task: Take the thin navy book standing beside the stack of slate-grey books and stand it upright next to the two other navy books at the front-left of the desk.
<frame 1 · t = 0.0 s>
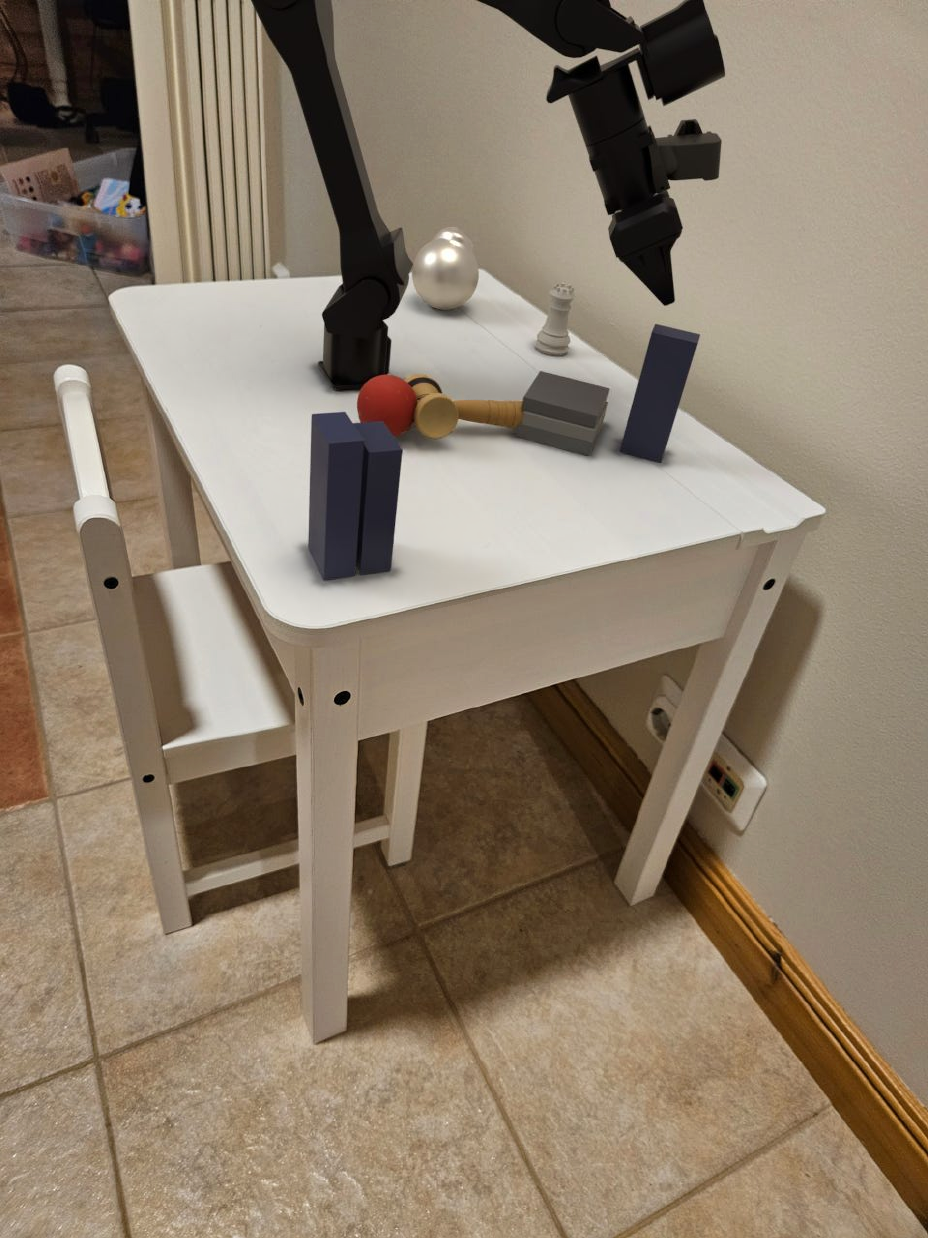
hand: (665, 288, 90), 15 cm above the table, tool tilted 35°, fingers open, 9 cm apart
kendama: (441, 432, 91), on the table, touching grey books
grey books: (560, 430, 95), on the table
navy books: (349, 559, 72), on the table
baroque pearl: (442, 308, 120), on the table
rook chess piece: (551, 350, 113), on the table
navy book: (641, 452, 93), on the table
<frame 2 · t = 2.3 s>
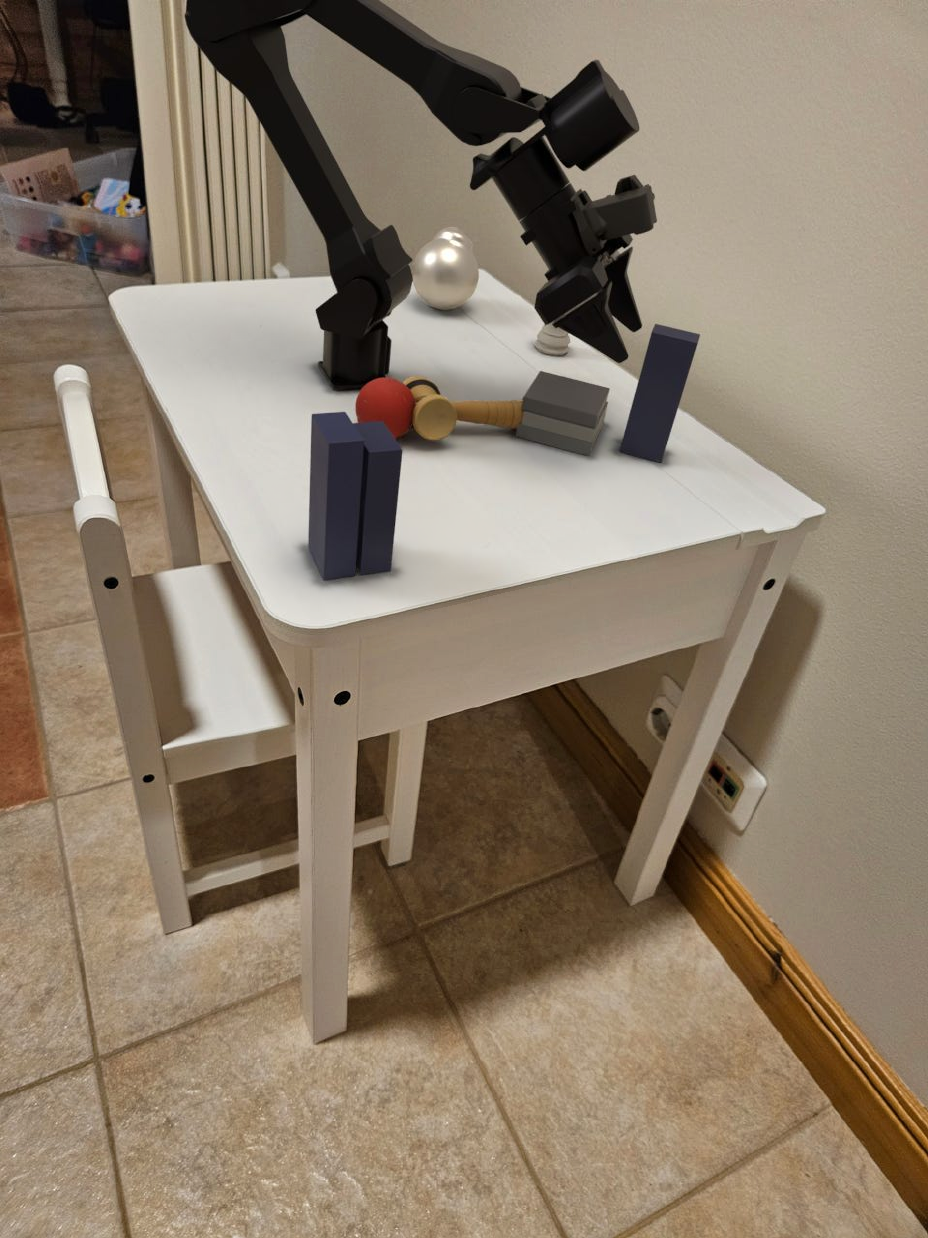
hand: (631, 344, 87), 11 cm above the table, tool tilted 45°, fingers open, 9 cm apart
kendama: (440, 434, 91), on the table, touching grey books
everything else where it was.
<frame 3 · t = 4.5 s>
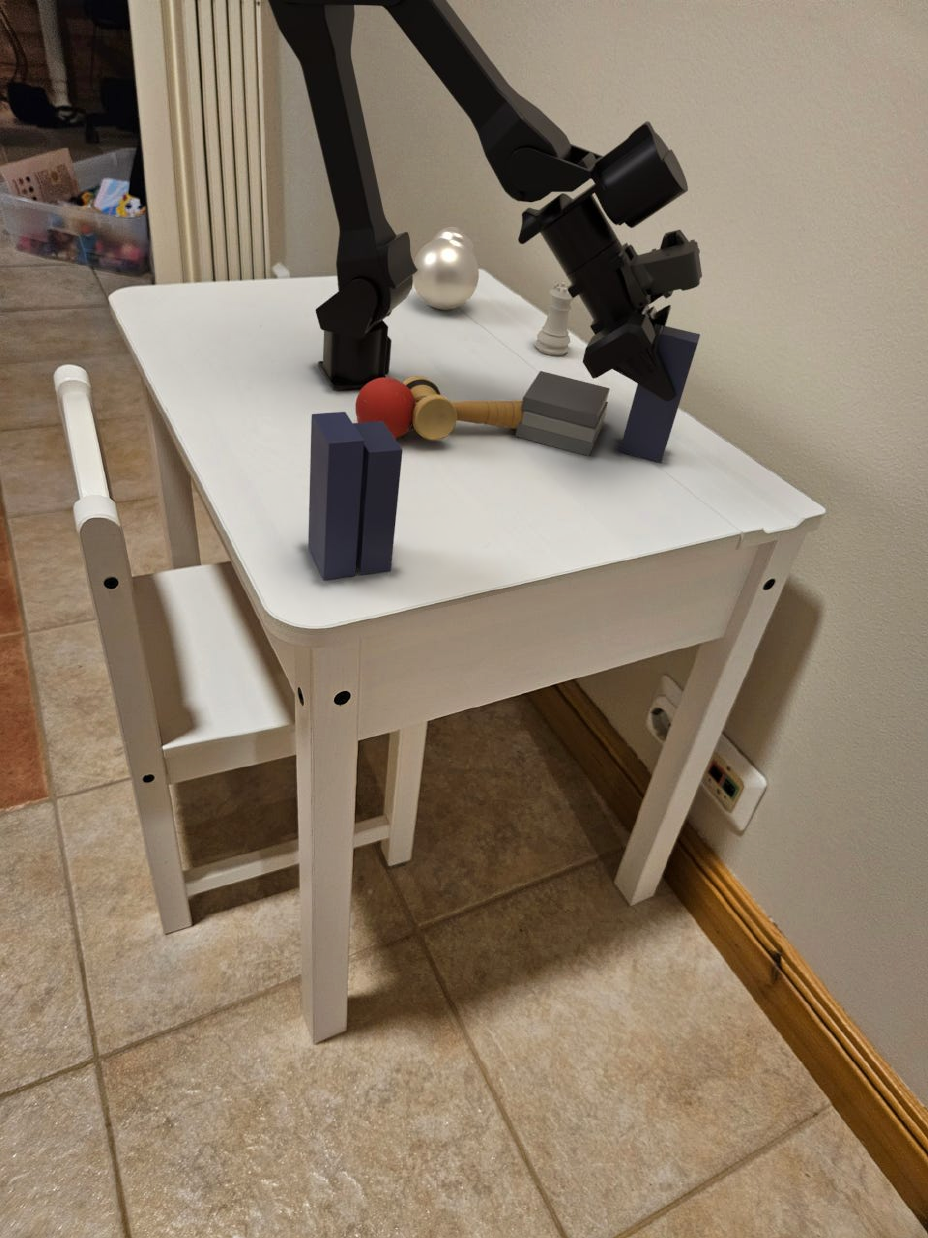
hand: (673, 393, 89), 7 cm above the table, tool tilted 45°, fingers closed on navy book, 3 cm apart
navy book: (641, 452, 93), on the table, touching gripper
everything else where it was.
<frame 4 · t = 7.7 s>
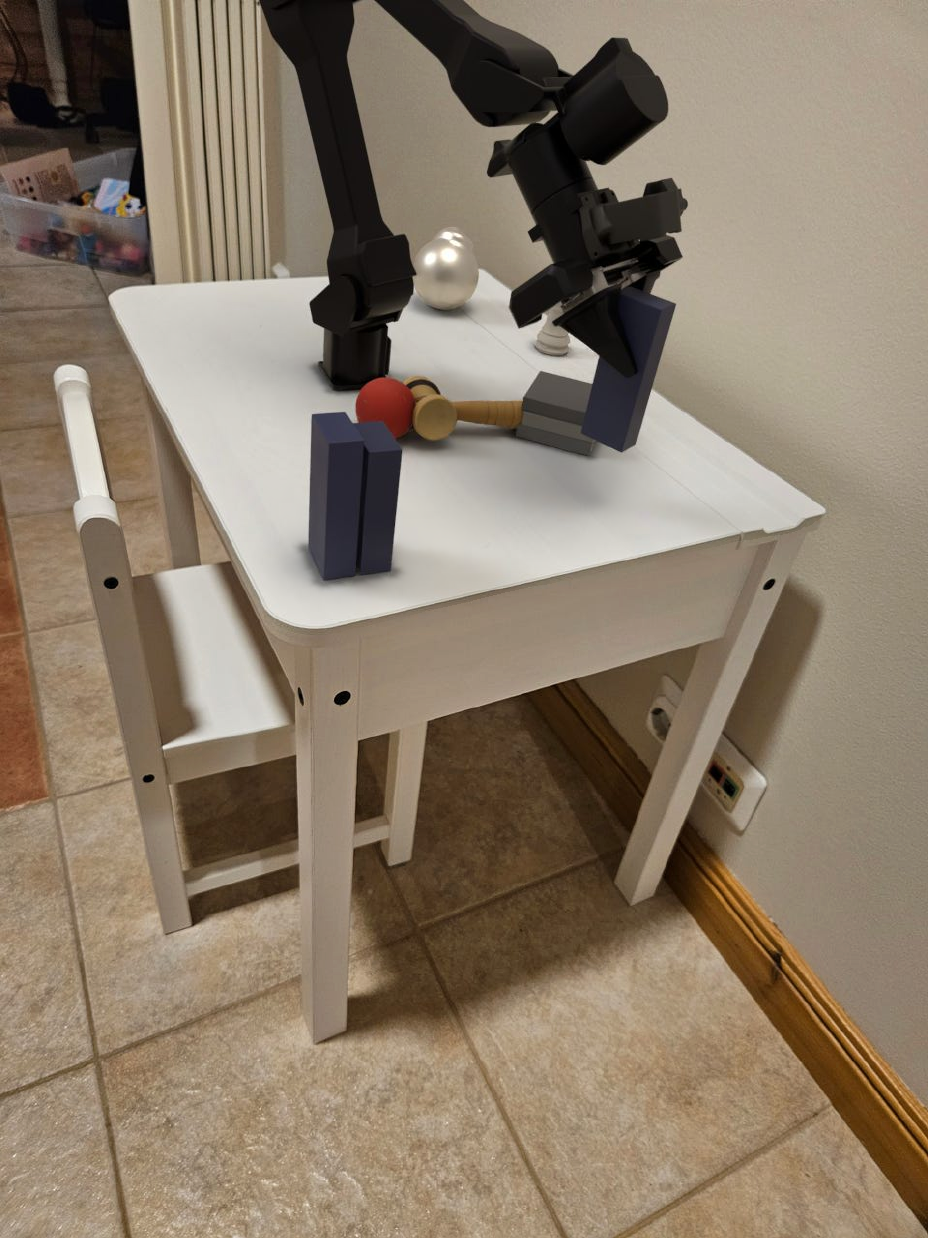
hand: (640, 371, 76), 13 cm above the table, tool tilted 45°, fingers closed on navy book, 3 cm apart
navy book: (607, 439, 81), point 6 cm above the table, touching gripper
everything else where it was.
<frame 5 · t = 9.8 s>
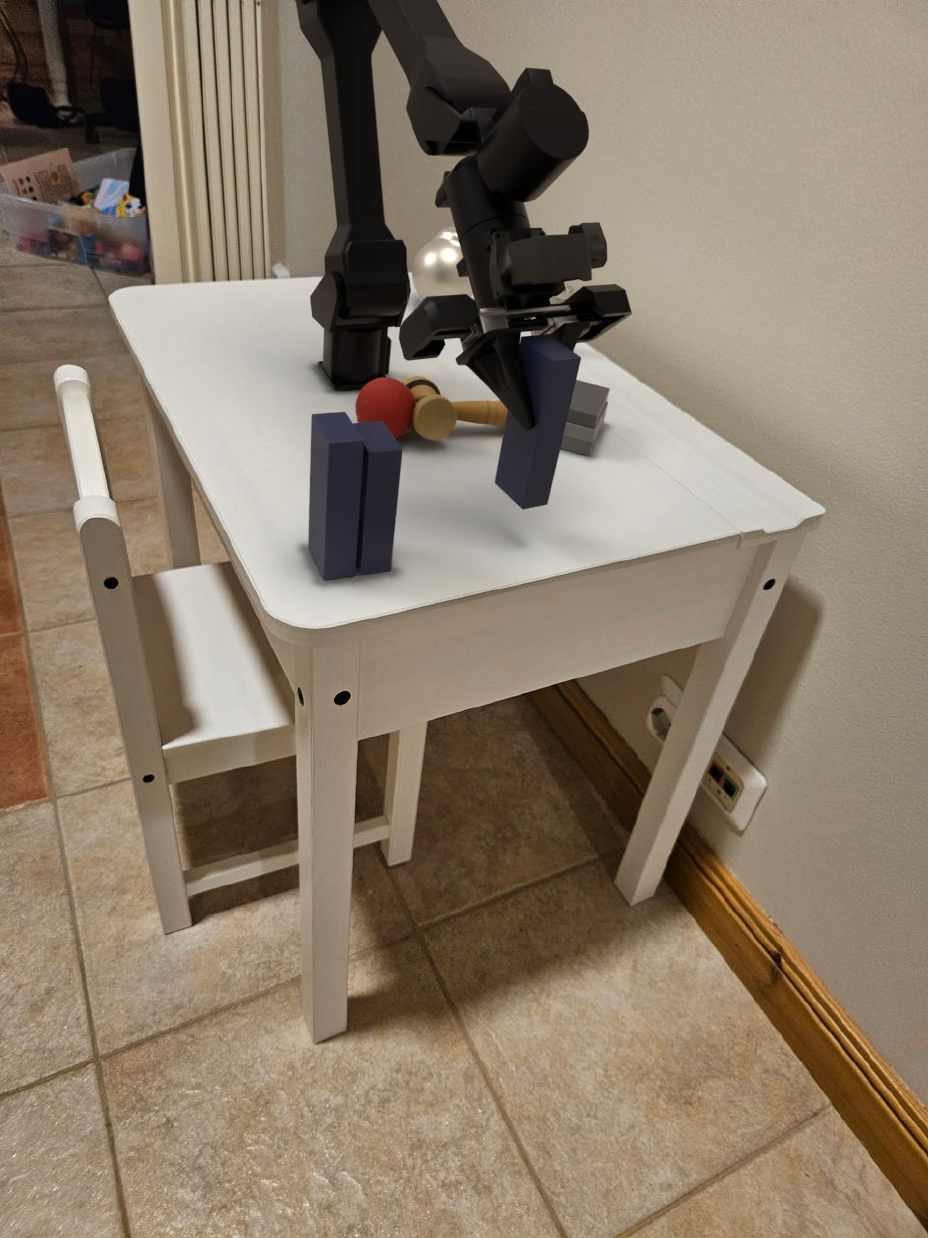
hand: (545, 425, 70), 11 cm above the table, tool tilted 45°, fingers closed on navy book, 3 cm apart
navy book: (520, 493, 75), point 4 cm above the table, touching gripper
everything else where it was.
when the fingers open (7 cm above the table, at t = 11.2 s): navy book stays where it is, on the table.
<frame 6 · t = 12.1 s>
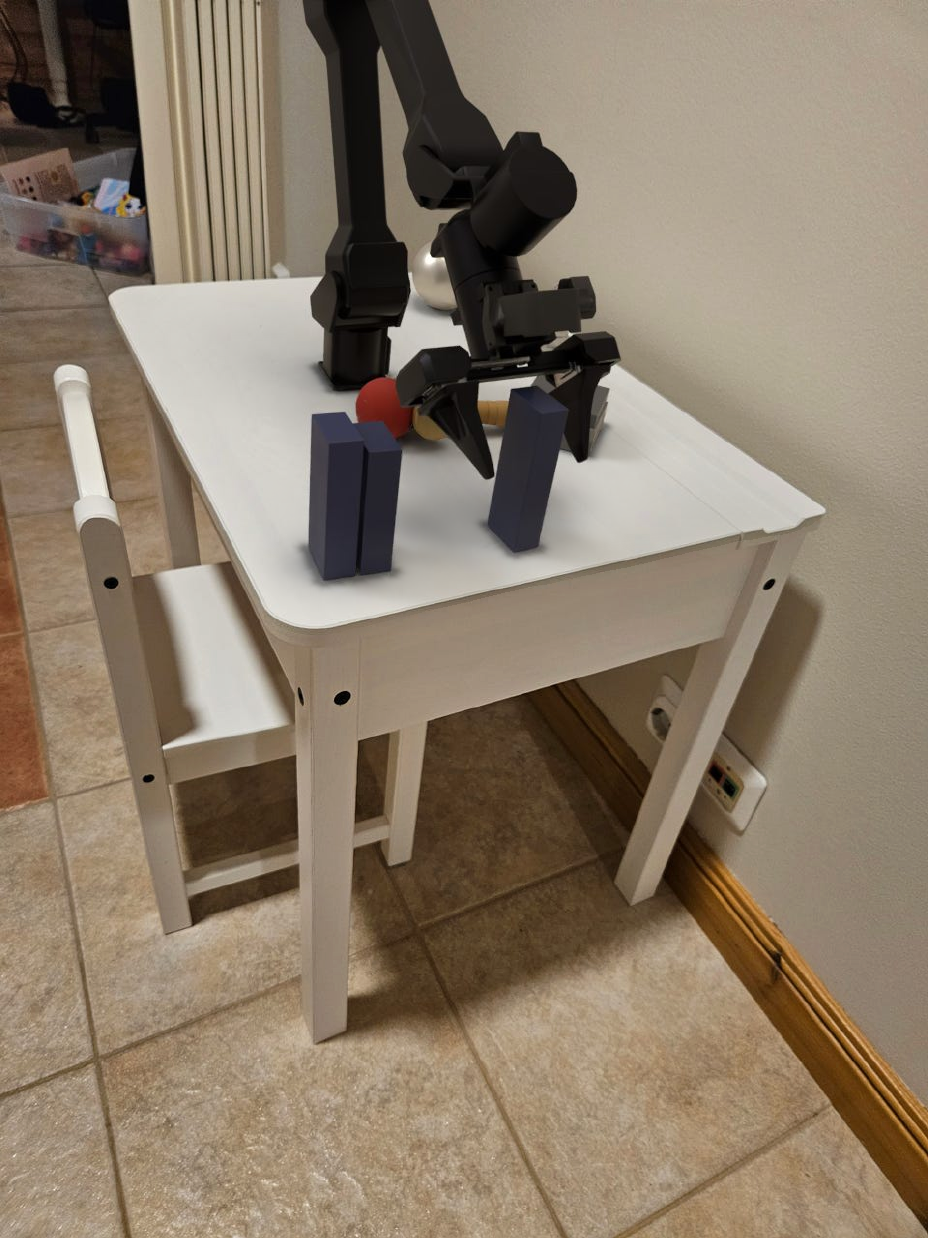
hand: (537, 469, 72), 8 cm above the table, tool tilted 45°, fingers open, 9 cm apart
navy book: (512, 535, 77), on the table
everything else where it was.
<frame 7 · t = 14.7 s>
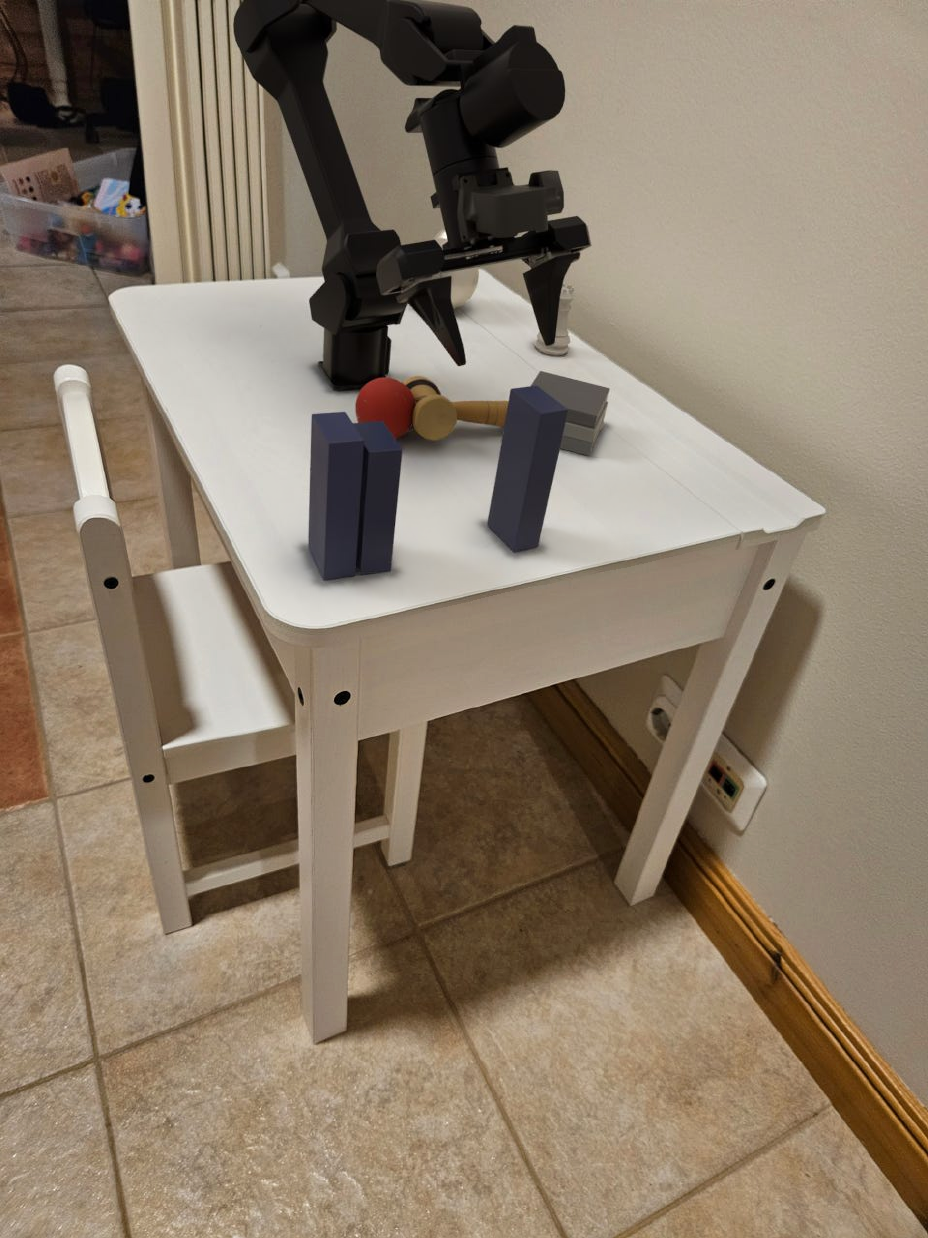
hand: (507, 354, 79), 12 cm above the table, tool tilted 35°, fingers open, 9 cm apart
nothing on the table moved.
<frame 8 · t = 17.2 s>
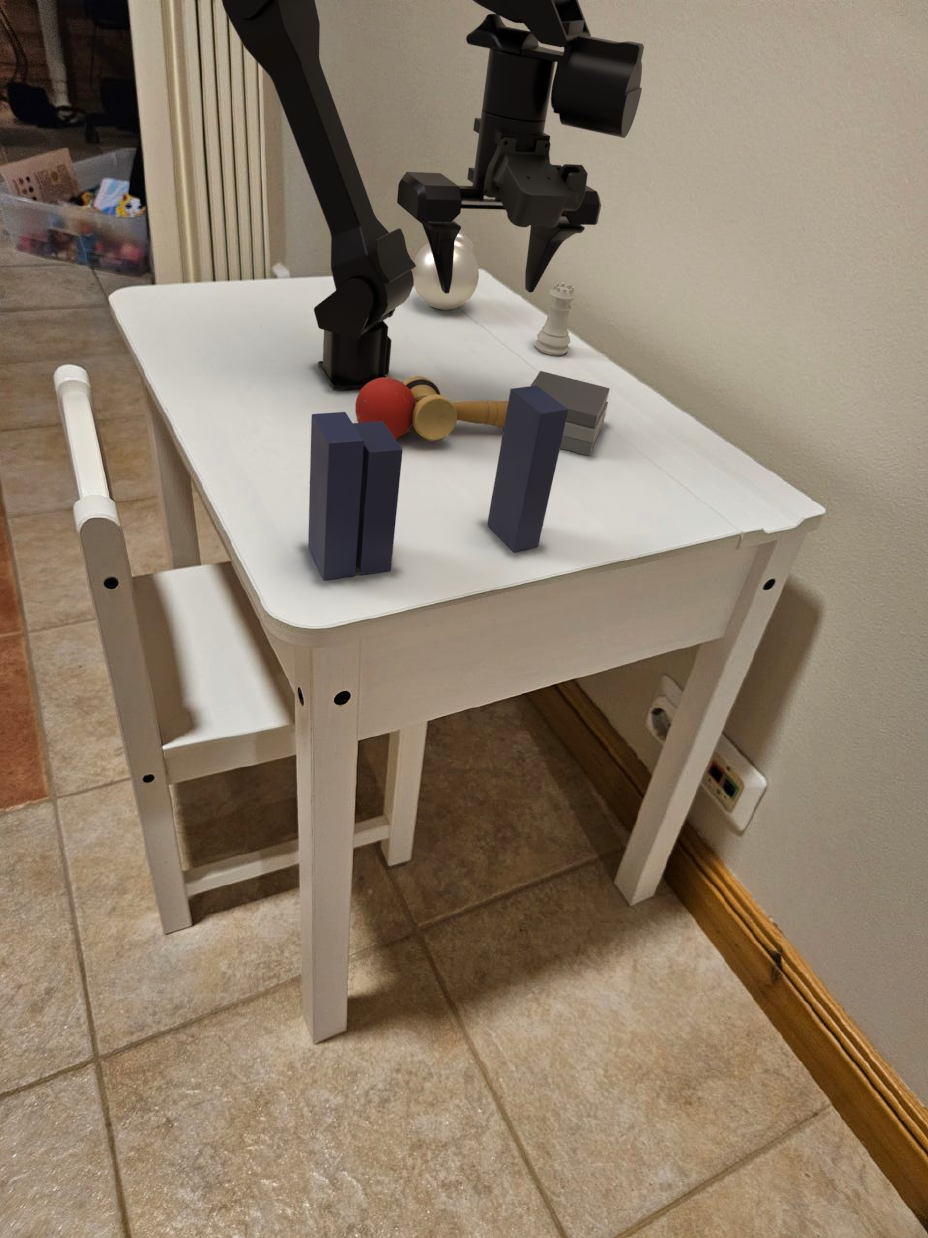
hand: (487, 291, 87), 13 cm above the table, tool pointing down, fingers open, 9 cm apart
nothing on the table moved.
at the end: navy book inside the target area (0.2 cm from its centre), on the table; navy book 15.0 cm from the navy books (horizontally); navy book tilted 0° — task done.
